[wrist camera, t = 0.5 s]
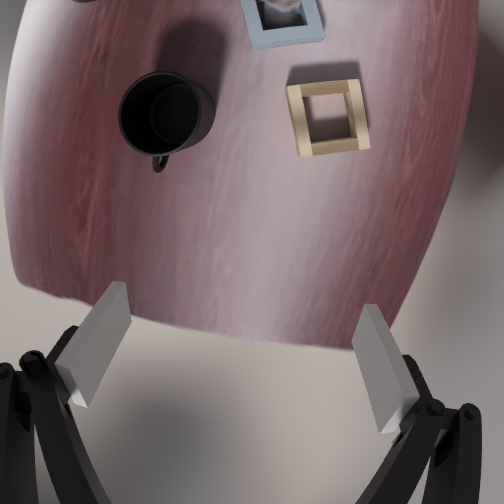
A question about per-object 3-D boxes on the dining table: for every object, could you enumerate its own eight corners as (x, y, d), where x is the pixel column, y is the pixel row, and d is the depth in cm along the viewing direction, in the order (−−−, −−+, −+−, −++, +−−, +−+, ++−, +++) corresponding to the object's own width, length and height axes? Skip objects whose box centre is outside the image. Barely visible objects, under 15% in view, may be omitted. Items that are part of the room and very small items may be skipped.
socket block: (238, -5, 28) (236, -13, 26) (305, -13, 27) (308, -22, 24) (252, 50, 32) (251, 45, 29) (320, 42, 31) (325, 36, 28)
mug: (138, 160, 38) (108, 172, 30) (155, 76, 33) (127, 67, 25) (202, 173, 39) (186, 187, 31) (222, 86, 34) (211, 76, 26)
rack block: (285, 88, 34) (286, 86, 31) (352, 81, 33) (358, 79, 30) (297, 155, 38) (300, 157, 35) (362, 146, 37) (370, 148, 34)
